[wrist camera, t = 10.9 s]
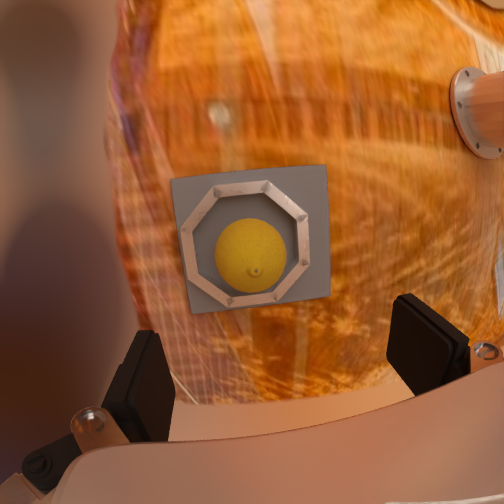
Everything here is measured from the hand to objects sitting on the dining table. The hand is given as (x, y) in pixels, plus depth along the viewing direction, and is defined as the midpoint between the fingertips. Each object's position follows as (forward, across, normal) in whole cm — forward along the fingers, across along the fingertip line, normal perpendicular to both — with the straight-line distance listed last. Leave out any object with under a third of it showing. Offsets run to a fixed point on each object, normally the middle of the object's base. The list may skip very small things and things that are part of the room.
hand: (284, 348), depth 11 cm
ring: (+17, 0, 0) cm, 17 cm away
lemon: (+17, 0, 0) cm, 17 cm away
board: (+18, -1, 0) cm, 18 cm away
